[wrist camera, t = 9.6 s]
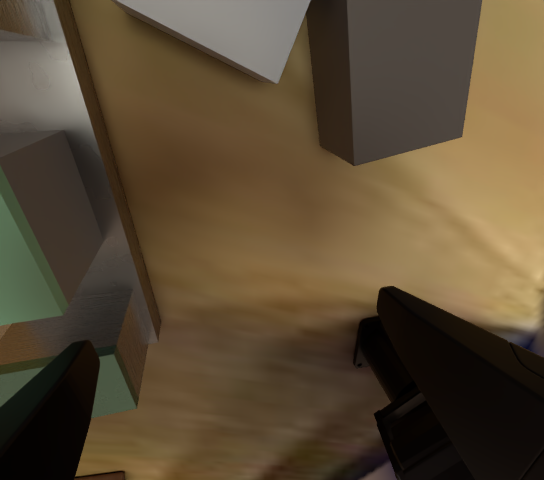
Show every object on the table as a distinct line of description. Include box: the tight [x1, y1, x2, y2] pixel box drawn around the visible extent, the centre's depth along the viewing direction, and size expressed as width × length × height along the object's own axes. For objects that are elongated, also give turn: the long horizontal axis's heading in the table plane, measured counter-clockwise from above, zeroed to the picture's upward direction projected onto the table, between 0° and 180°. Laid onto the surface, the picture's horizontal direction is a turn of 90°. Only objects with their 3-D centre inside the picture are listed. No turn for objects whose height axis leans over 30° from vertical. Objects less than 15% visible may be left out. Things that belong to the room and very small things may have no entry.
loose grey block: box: [306, 0, 482, 166], centre depth 15 cm, size 8×6×5 cm
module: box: [0, 130, 104, 325], centre depth 12 cm, size 6×4×6 cm
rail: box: [0, 0, 161, 418], centre depth 14 cm, size 23×7×7 cm, turn 1°
